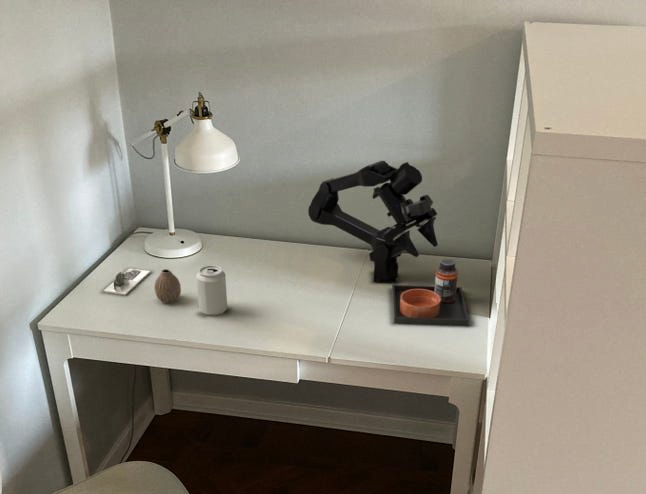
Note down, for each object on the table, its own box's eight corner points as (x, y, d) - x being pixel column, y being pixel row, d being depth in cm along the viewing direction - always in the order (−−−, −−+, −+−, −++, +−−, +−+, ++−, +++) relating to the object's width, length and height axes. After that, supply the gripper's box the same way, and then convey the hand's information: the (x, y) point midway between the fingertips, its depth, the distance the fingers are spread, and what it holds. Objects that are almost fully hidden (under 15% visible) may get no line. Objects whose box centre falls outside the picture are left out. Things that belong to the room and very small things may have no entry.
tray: (393, 323, 207) (394, 317, 206) (392, 290, 223) (392, 284, 222) (468, 325, 207) (468, 320, 206) (460, 292, 223) (461, 287, 222)
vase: (186, 297, 217) (184, 268, 212) (172, 308, 212) (169, 278, 207) (165, 292, 220) (162, 263, 215) (151, 302, 214) (147, 273, 210)
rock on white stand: (125, 295, 218) (123, 280, 215) (103, 292, 219) (101, 277, 217) (150, 272, 230) (148, 258, 228) (129, 269, 231) (127, 255, 229)
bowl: (400, 320, 209) (401, 306, 207) (398, 301, 218) (399, 288, 216) (440, 321, 208) (442, 307, 206) (437, 302, 217) (439, 289, 215)
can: (232, 306, 213) (230, 266, 207) (219, 319, 207) (217, 277, 201) (207, 301, 215) (204, 261, 209) (194, 314, 209) (190, 273, 203)
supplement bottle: (448, 292, 222) (452, 255, 216) (459, 301, 218) (463, 264, 212) (429, 296, 220) (433, 258, 214) (440, 305, 216) (444, 267, 210)
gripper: (394, 196, 204) (427, 247, 204) (434, 178, 216) (465, 226, 216) (368, 218, 212) (400, 267, 212) (408, 199, 225) (438, 246, 224)
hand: (427, 251), depth 216 cm, fingers open, 9 cm apart
